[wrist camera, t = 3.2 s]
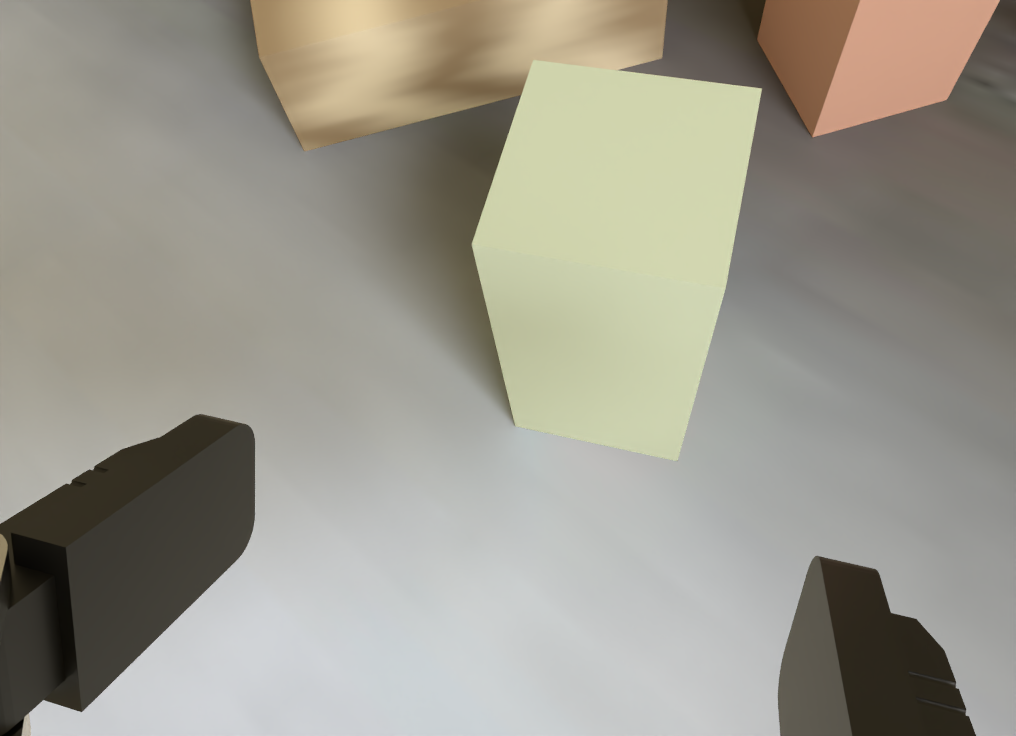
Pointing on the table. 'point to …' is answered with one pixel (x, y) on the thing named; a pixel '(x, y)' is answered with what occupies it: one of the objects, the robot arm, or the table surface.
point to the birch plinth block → (432, 54)
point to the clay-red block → (868, 54)
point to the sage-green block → (612, 248)
